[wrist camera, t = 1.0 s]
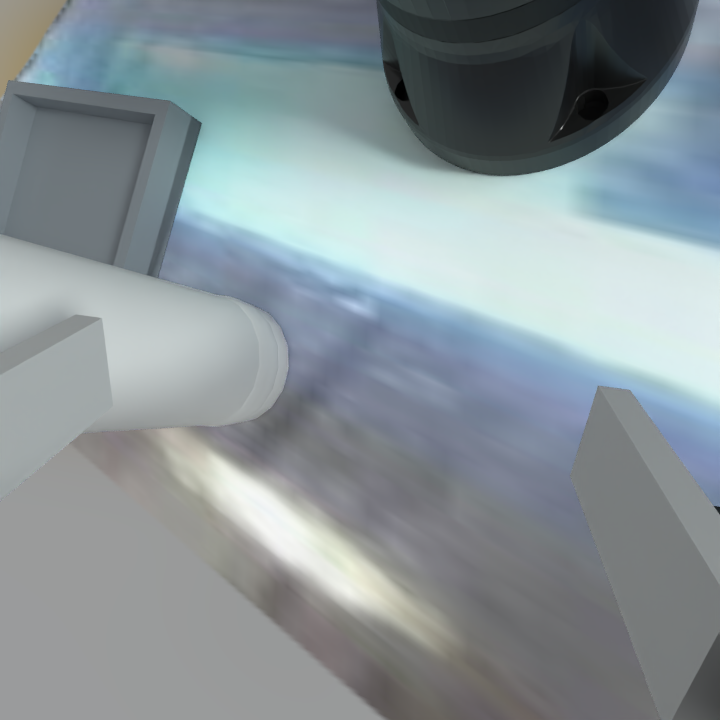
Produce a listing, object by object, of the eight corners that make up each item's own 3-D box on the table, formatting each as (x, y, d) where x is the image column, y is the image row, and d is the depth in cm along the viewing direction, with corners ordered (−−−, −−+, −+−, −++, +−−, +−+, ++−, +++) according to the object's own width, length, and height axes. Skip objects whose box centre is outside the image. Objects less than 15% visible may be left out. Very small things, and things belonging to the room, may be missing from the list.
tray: (44, 99, 44) (8, 80, 42) (201, 123, 37) (170, 100, 34) (-10, 303, 45) (-49, 297, 43) (132, 365, 38) (96, 363, 35)
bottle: (201, 435, 35) (-1195, 558, 8) (183, 323, 36) (-1062, 88, 9) (303, 408, 32) (-1405, 453, 5) (279, 287, 33) (-1158, -232, 6)
